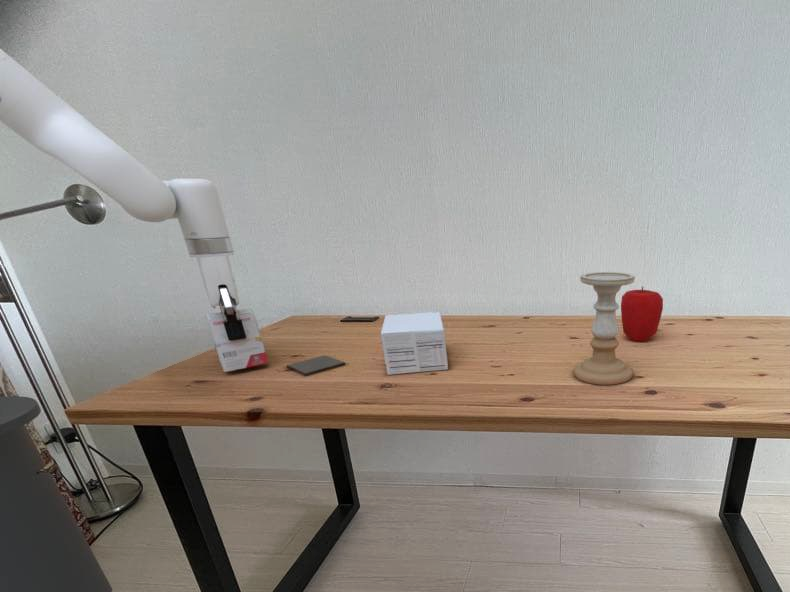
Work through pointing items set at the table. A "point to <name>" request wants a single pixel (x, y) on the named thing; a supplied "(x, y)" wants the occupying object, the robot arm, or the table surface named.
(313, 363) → the coaster
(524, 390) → the table surface
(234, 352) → the ink box
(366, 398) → the table surface
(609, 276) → the candle holder
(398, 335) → the supplement box
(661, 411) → the table surface
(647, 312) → the apple
